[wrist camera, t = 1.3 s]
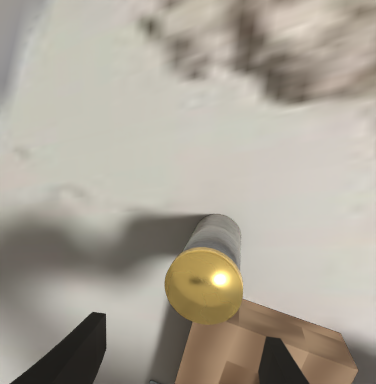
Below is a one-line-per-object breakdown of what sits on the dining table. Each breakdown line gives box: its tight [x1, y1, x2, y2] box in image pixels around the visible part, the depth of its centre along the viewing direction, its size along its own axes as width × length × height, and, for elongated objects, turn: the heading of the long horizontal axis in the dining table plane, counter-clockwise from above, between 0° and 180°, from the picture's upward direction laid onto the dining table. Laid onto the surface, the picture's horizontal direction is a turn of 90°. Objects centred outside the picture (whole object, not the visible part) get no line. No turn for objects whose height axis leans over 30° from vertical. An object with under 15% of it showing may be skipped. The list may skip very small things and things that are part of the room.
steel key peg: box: [165, 214, 243, 325], centre depth 18 cm, size 4×4×8 cm
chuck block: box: [175, 299, 358, 384], centre depth 22 cm, size 12×12×4 cm
